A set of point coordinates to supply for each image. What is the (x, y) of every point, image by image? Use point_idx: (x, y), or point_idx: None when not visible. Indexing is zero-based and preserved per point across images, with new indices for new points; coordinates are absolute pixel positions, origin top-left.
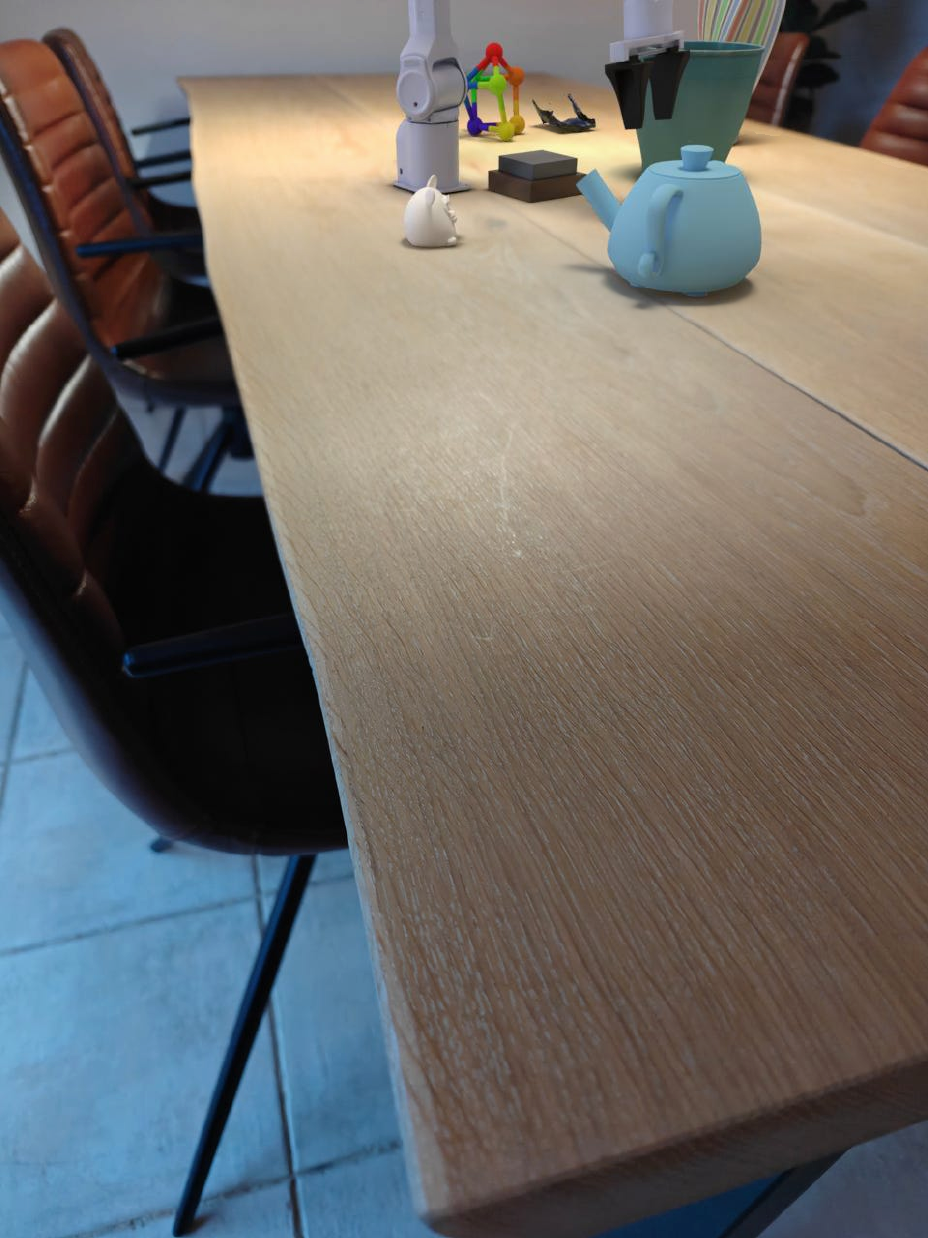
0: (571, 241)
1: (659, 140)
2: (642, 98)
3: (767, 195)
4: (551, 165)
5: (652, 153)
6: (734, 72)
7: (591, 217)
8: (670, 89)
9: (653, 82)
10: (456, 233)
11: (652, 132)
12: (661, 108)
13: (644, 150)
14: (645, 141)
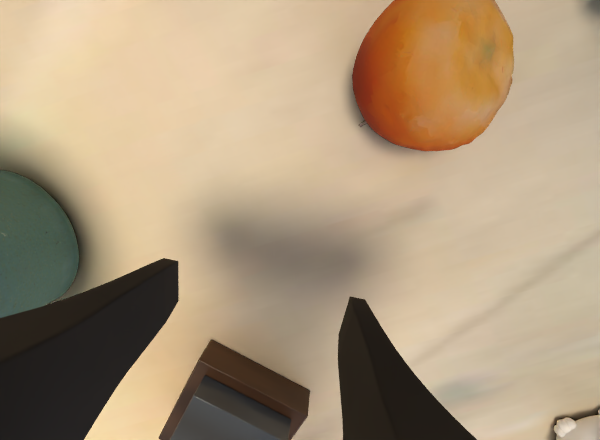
0: (527, 268)
1: (26, 296)
2: (393, 357)
3: (45, 50)
4: (251, 418)
5: (44, 296)
6: None
7: (358, 286)
8: (116, 314)
9: (103, 397)
10: (570, 421)
11: None
12: (162, 302)
13: None
14: None
